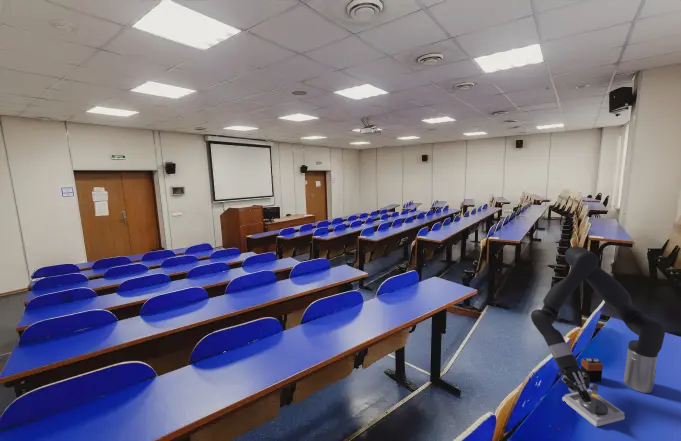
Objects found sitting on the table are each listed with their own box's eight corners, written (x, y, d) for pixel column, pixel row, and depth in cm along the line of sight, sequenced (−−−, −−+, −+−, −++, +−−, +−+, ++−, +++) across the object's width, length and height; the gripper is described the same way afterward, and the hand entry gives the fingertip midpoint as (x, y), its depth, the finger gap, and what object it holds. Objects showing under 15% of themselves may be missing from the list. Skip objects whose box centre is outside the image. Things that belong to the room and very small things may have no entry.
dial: (580, 394, 128) (582, 375, 127) (608, 405, 122) (610, 384, 121) (577, 411, 120) (579, 390, 118) (607, 423, 114) (609, 402, 112)
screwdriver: (573, 395, 131) (574, 389, 130) (568, 390, 133) (568, 385, 133) (597, 388, 134) (598, 383, 133) (591, 384, 136) (592, 379, 136)
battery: (579, 375, 142) (581, 356, 141) (593, 375, 142) (596, 356, 141) (586, 381, 138) (588, 362, 136) (601, 381, 138) (603, 362, 136)
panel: (588, 393, 131) (589, 387, 130) (624, 419, 117) (625, 412, 117) (562, 399, 128) (562, 393, 128) (595, 426, 115) (596, 419, 114)
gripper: (556, 355, 124) (581, 404, 114) (582, 351, 126) (609, 398, 116) (544, 359, 130) (567, 405, 120) (569, 355, 132) (594, 399, 123)
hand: (588, 401), depth 118 cm, fingers closed
